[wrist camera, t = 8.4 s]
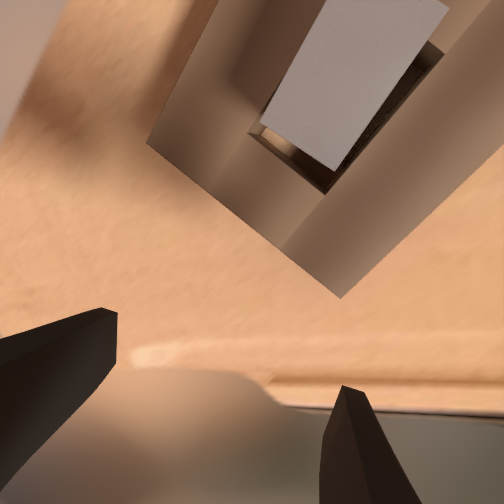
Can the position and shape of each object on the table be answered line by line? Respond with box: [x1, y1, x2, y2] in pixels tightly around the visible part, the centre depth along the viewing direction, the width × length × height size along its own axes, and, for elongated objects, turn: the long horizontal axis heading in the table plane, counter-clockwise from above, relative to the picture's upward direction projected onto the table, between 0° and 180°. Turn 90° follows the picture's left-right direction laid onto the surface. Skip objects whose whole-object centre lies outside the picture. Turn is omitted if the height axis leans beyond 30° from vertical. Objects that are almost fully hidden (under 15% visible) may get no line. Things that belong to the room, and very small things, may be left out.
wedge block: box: [260, 0, 450, 172], centre depth 12 cm, size 3×5×6 cm, turn 148°
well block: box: [146, 0, 504, 299], centre depth 13 cm, size 12×13×3 cm
